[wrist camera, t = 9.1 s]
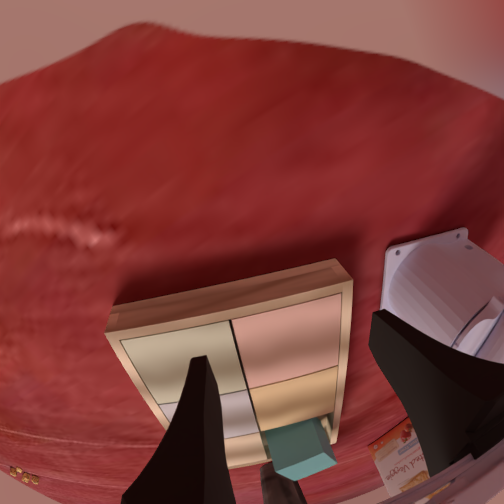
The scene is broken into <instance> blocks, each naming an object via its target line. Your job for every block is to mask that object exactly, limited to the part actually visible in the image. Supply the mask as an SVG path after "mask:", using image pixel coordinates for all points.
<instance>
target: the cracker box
mask: <svg viewBox="0 0 504 504" xmlns="http://www.w3.org/2000/svg"><path fill="white" fill-rule="evenodd" d="M368 448H369V451H370V453H371V455H372V458H373V460H374V462H375V464H376V466H377V468H378V471H379V473H380V475H381V477H382V480H383V482H384V484H385V487H386V489H387V491H388V493H389V496H390V498H391V497H393V496H396V495H398V494H400V493H402V492H404V491H406V490H408V489H410V488H412V487H414V486H416V485H418V484H420V483H422V482H423V481H425V480H427V479H429V478H430V476H429V473H428V469H427V465H426V462H425V459H424V455H423V452H422V449H421V446H420V443H419V441H418V438H417V435H416V433H415V430H414V428H413V426H412V423H411V421H410V419H409V417H408V418H407V419H405V420H404V421H403V422H401V423H400V424H399V425H397V426H396V427H395V428H393V429H392V430H391V431H389V432H388V433H386V434H385V435H383V436H382V437H381V438H379V439H378V440H376V441H375V442H373V443H372V444H370V445H369V446H368ZM450 483H451V482H450ZM450 483H449V484H450ZM449 484H447V485H446V486H444V487H442V488H441V489H439V490H437V491H435V492H434V493H432V494H430V495H428V496H427V497H425V498H423V499H421V500H419V501H417V502H415V503H413V504H424V503H426V502H427V501H428V500H430V499H431V498H432V497H433V496H434V495H435V494H437V493H439V492H440V491H442V490H443V489H445V488H446V487H448V486H449Z"/></svg>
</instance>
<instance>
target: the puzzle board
mask: <svg viewBox="0 0 504 504" xmlns="http://www.w3.org/2000/svg"><path fill="white" fill-rule="evenodd" d="M352 295H353V279H352V278H351V276H350V275H349V274H348V273H347V272H346V270H345V269H344V268H343V267H342V266H341V264H340V263H339V262H338V261H337V260H336V258H334V259H330V260H325V261H321V262H317V263H313V264H308V265H304V266H300V267H295V268H291V269H287V270H282V271H278V272H273V273H269V274H264V275H260V276H256V277H251V278H246V279H242V280H237V281H233V282H228V283H223V284H219V285H214V286H209V287H205V288H200V289H195V290H190V291H186V292H181V293H176V294H171V295H166V296H161V297H156V298H151V299H146V300H141V301H136V302H131V303H126V304H121V305H116V306H112V309H111V313H110V316H109V319H108V323H107V326H106V330H105V335H106V337H107V339H108V341H109V342H110V344H111V346H112V348H113V349H114V351H115V353H116V355H117V356H118V358H119V360H120V362H121V363H122V365H123V367H124V368H125V370H126V371H127V373H128V375H129V376H130V378H131V380H132V381H133V383H134V384H135V386H136V387H137V389H138V390H139V392H140V393H141V395H142V397H143V398H144V400H145V401H146V402H147V404H148V405H149V407H150V408H151V410H152V411H153V413H154V414H155V415H156V417H157V418H158V420H159V421H160V422H161V424H162V425H163V427H164V428H165V429H166V431H167V429H168V427H169V425H170V422H171V420H172V418H173V415H174V413H175V410H176V408H177V405H178V402H179V399H180V396H181V393H182V390H183V387H184V384H185V380H186V377H187V373H188V368H189V364H190V360H191V358H193V357H198V356H203V355H207V357H208V360H209V363H210V366H211V368H212V371H213V374H214V376H215V379H216V382H217V384H218V389H219V394H220V400H221V405H222V417H223V431H224V444H225V454H226V461H227V466H228V469H233V468H239V467H244V466H250V465H255V464H260V463H264V462H269V461H272V458H271V454H270V450H269V447H268V443H267V439H266V435H265V431H264V430H269V429H273V428H277V427H281V426H285V425H289V424H293V423H297V422H300V421H304V420H307V419H311V418H314V417H318V419H319V420H320V421H321V423H322V425H323V428H324V430H325V433H326V435H327V438H328V441H329V443H330V445H331V444H334V443H336V441H337V435H338V429H339V423H340V416H341V410H342V403H343V395H344V387H345V379H346V370H347V361H348V351H349V340H350V327H351V313H352Z"/></svg>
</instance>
